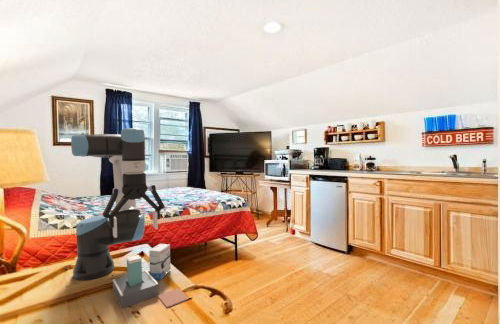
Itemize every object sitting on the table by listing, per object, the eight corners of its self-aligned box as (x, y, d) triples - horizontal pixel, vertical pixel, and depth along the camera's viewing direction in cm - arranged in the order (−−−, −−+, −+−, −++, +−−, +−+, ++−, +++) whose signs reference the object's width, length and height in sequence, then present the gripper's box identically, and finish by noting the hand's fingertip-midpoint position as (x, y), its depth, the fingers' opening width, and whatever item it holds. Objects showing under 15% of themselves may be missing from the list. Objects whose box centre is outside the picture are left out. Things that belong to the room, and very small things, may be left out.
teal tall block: (127, 292, 94) (126, 257, 94) (139, 289, 97) (138, 254, 96) (130, 297, 91) (129, 261, 91) (142, 293, 93) (141, 257, 93)
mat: (157, 296, 91) (157, 295, 91) (181, 287, 97) (181, 286, 97) (166, 308, 84) (166, 306, 84) (192, 298, 90) (192, 296, 90)
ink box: (160, 280, 103) (159, 251, 102) (149, 279, 104) (148, 250, 103) (171, 270, 111) (170, 243, 111) (160, 270, 112) (159, 243, 112)
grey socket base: (112, 291, 96) (112, 279, 95) (146, 280, 103) (146, 269, 103) (121, 308, 85) (121, 295, 84) (158, 295, 92) (158, 283, 92)
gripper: (95, 176, 80) (97, 243, 81) (172, 171, 96) (174, 227, 97) (91, 174, 86) (93, 237, 87) (165, 169, 102) (166, 223, 103)
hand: (136, 232), depth 92 cm, fingers open, 13 cm apart
